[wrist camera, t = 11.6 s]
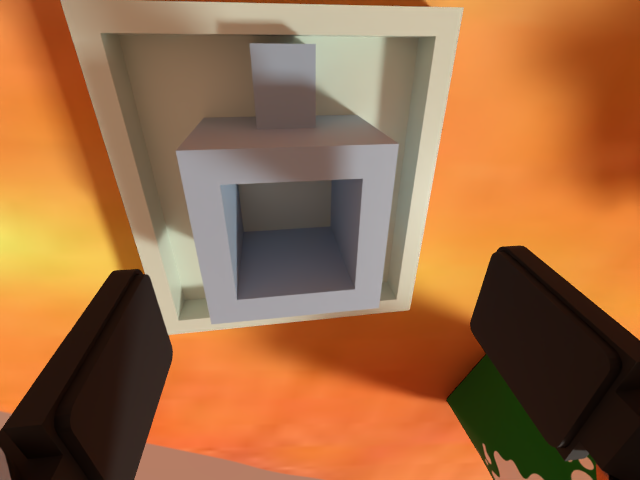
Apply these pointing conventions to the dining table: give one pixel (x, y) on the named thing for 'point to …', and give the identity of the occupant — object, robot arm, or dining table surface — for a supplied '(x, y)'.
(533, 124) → the dining table surface
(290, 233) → the collar
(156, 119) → the tray
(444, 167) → the dining table surface
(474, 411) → the milk carton
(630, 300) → the dining table surface
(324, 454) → the dining table surface
